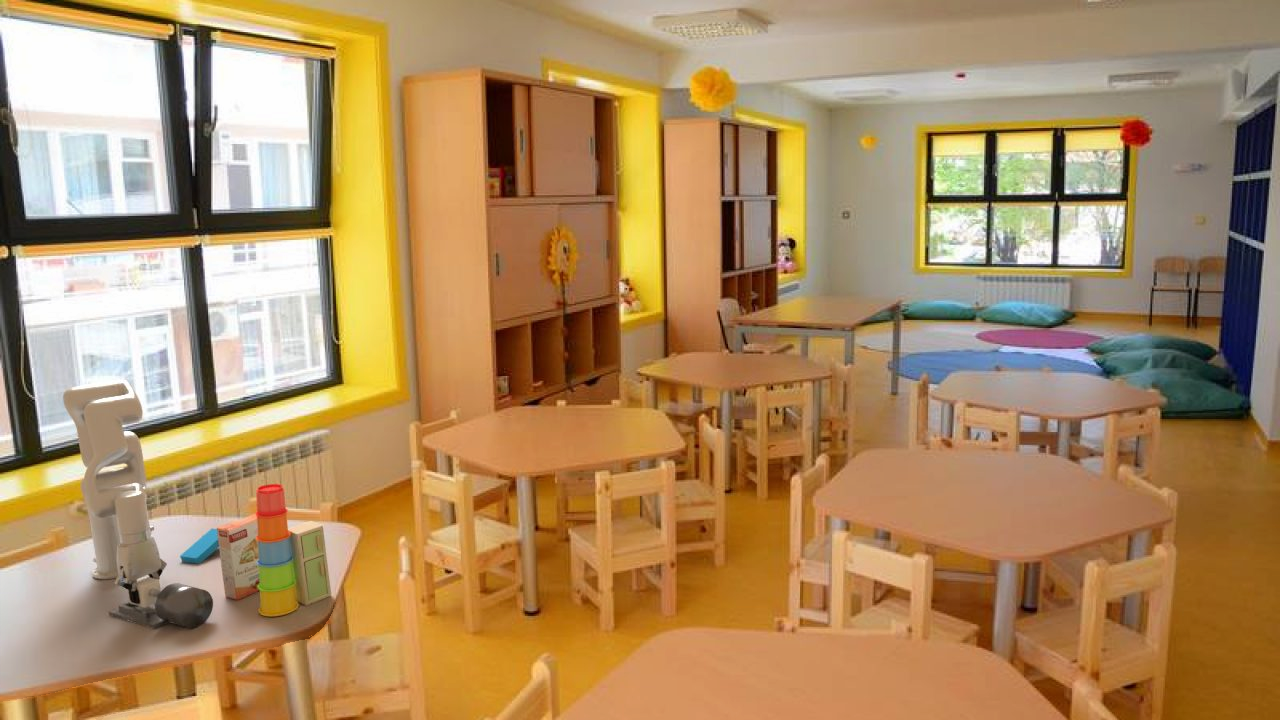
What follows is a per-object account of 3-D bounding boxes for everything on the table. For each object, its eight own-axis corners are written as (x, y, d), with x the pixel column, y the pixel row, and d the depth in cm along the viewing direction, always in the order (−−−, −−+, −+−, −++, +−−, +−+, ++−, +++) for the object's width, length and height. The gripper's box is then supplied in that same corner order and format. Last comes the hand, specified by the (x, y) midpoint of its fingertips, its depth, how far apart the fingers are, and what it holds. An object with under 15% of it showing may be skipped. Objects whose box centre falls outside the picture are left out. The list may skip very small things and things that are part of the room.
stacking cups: (268, 601, 269) (252, 482, 262) (304, 600, 268) (289, 481, 262) (252, 618, 259) (236, 495, 252) (290, 617, 258) (274, 493, 251)
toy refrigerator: (307, 607, 264) (298, 534, 260) (293, 600, 269) (284, 528, 265) (333, 596, 270) (324, 525, 266) (319, 590, 275) (311, 520, 271)
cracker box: (238, 601, 270) (228, 530, 266) (224, 597, 273) (214, 527, 269) (280, 582, 281) (271, 514, 277) (266, 578, 285) (257, 511, 281)
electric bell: (109, 615, 265) (103, 580, 263) (149, 597, 275) (144, 564, 273) (178, 636, 250) (173, 600, 249) (218, 616, 261) (213, 582, 259)
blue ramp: (204, 576, 301) (243, 540, 316) (196, 558, 298) (235, 523, 313) (187, 573, 303) (226, 538, 318) (179, 556, 300) (219, 521, 315)
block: (129, 603, 265) (126, 582, 264) (146, 595, 270) (143, 575, 268) (149, 608, 261) (146, 588, 260) (166, 601, 265) (163, 580, 264)
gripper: (155, 523, 271) (164, 584, 275) (96, 545, 257) (107, 609, 260) (172, 527, 268) (181, 588, 271) (114, 549, 253) (124, 614, 257)
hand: (145, 598), depth 266 cm, fingers closed on block, 5 cm apart
